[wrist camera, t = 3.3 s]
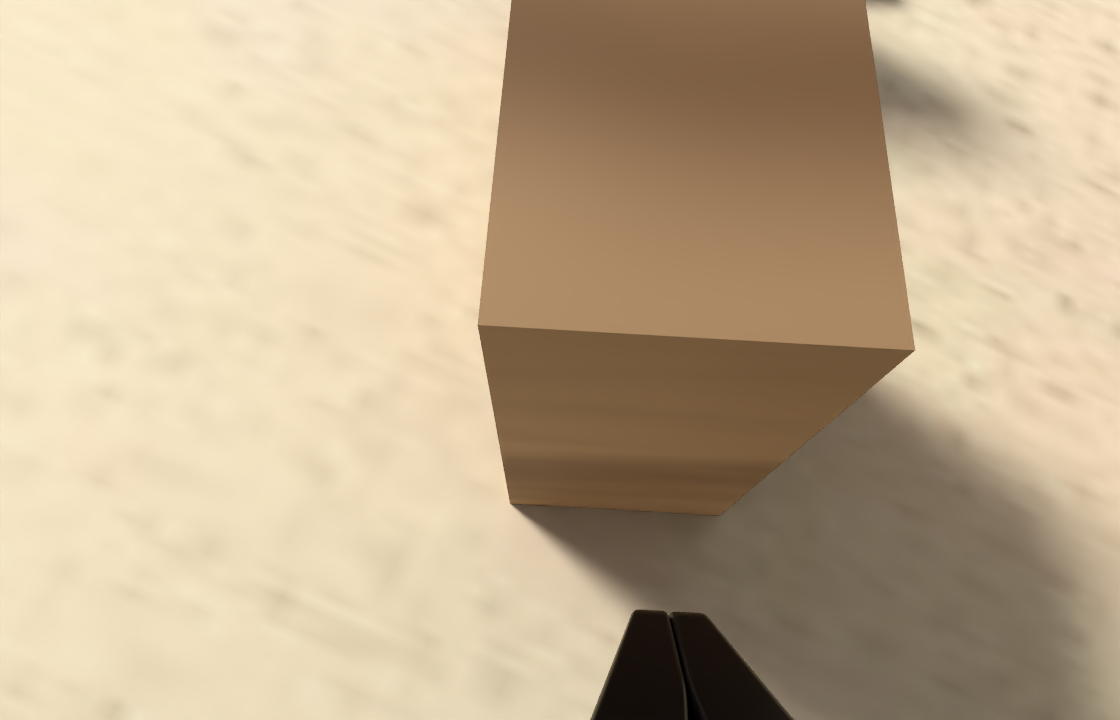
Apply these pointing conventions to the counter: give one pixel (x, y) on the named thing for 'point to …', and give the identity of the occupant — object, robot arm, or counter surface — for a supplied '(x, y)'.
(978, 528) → the counter surface
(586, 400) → the walnut block
